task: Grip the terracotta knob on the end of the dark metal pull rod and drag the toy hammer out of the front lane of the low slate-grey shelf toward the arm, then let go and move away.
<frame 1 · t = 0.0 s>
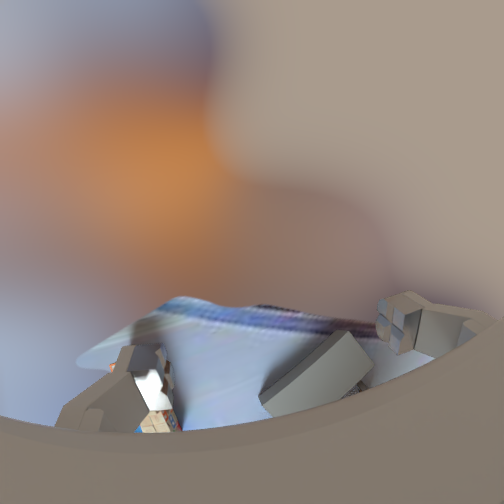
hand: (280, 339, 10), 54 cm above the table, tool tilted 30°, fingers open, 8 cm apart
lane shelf: (312, 379, 60), on the table
stack of blocks: (155, 395, 57), on the table
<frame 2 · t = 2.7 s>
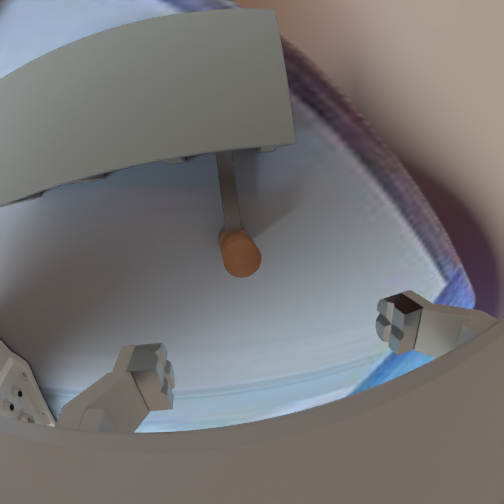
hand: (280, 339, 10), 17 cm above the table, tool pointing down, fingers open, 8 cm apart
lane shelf: (131, 113, 21), on the table
toy hammer: (217, 114, 23), on the table
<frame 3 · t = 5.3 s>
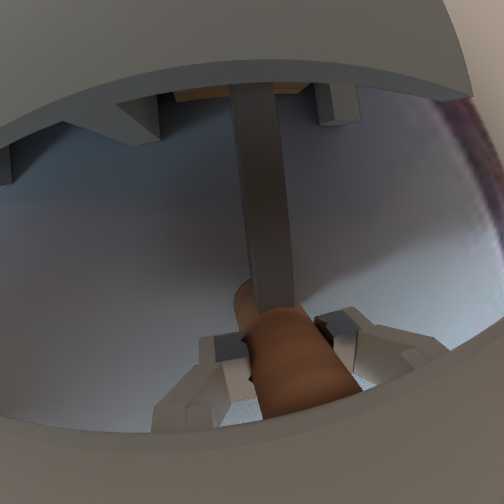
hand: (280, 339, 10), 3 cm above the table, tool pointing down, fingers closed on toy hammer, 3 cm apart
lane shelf: (63, 54, 8), on the table
toy hammer: (232, 45, 9), on the table, touching gripper
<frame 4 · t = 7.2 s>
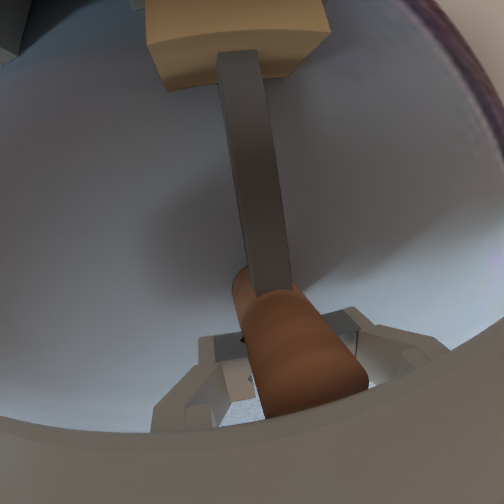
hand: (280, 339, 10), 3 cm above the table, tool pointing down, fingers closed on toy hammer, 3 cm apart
toy hammer: (220, 33, 9), on the table, touching gripper
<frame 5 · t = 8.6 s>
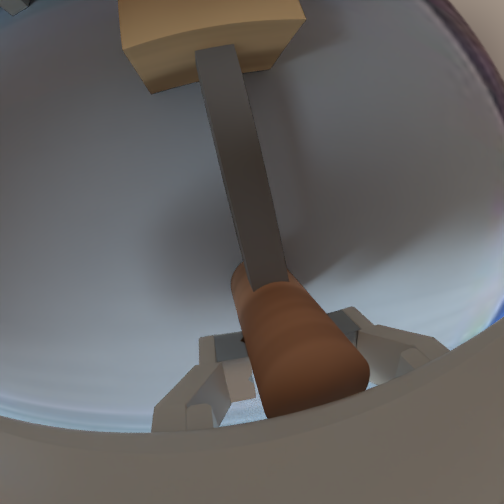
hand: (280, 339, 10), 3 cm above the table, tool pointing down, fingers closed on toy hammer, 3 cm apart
toy hammer: (200, 32, 9), on the table, touching gripper
when the fingers open (3 cm above the table, at t = 9.3 s): toy hammer stays where it is, on the table.
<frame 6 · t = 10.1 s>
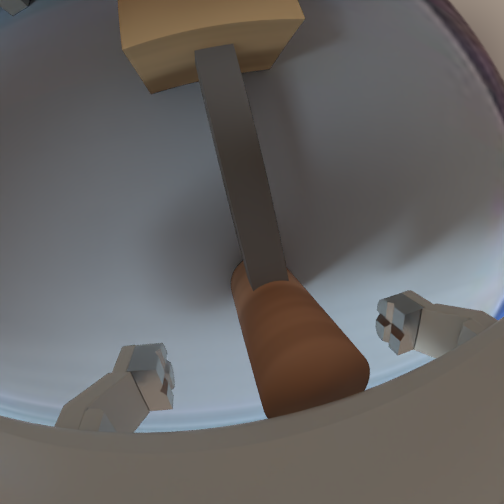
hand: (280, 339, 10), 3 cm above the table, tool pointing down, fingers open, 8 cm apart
toy hammer: (199, 32, 9), on the table
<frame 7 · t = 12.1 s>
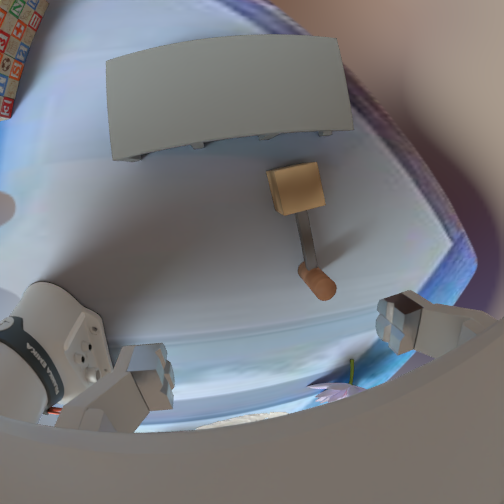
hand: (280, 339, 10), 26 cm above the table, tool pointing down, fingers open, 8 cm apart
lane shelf: (226, 100, 30), on the table
water lily: (333, 378, 45), on the table
toy hammer: (289, 186, 34), on the table
stack of blocks: (15, 59, 22), on the table
cloth: (244, 434, 47), on the table
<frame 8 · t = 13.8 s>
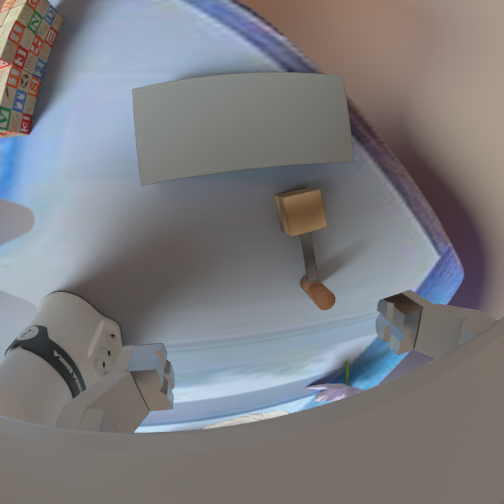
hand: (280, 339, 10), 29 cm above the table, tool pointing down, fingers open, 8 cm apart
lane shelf: (239, 129, 34), on the table
water lily: (330, 380, 49), on the table
toy hammer: (294, 208, 39), on the table
stack of blocks: (31, 75, 26), on the table
cloth: (247, 433, 51), on the table
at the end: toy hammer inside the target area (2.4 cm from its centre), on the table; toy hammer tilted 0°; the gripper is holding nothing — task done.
